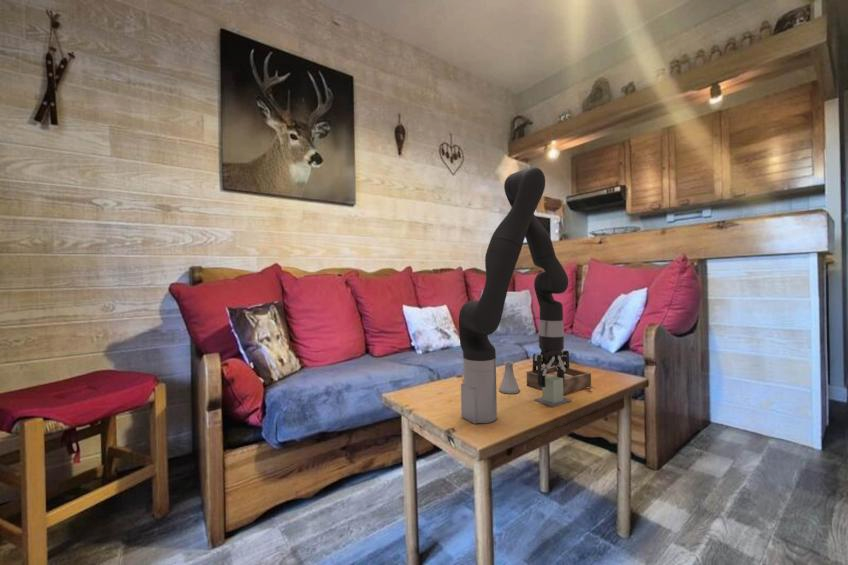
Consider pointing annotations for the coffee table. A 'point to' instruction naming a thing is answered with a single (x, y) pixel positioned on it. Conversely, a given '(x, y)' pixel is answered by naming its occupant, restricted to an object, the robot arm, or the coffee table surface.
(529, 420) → the coffee table surface
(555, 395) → the block
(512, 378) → the flask
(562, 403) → the pad
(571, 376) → the crate
